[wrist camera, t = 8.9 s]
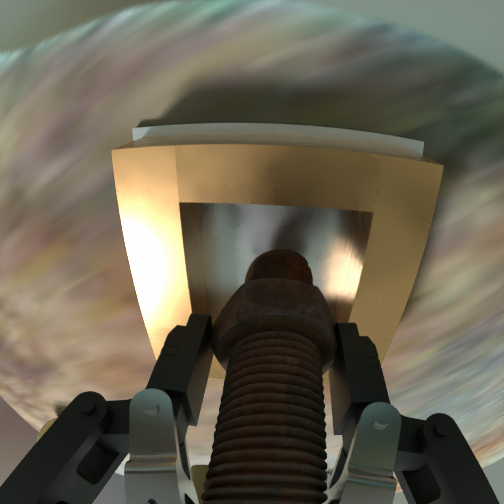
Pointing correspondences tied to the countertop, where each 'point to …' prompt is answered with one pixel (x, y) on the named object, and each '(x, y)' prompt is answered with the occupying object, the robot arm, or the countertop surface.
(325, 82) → the countertop surface
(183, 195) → the receiver
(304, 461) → the bolt
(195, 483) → the cork
